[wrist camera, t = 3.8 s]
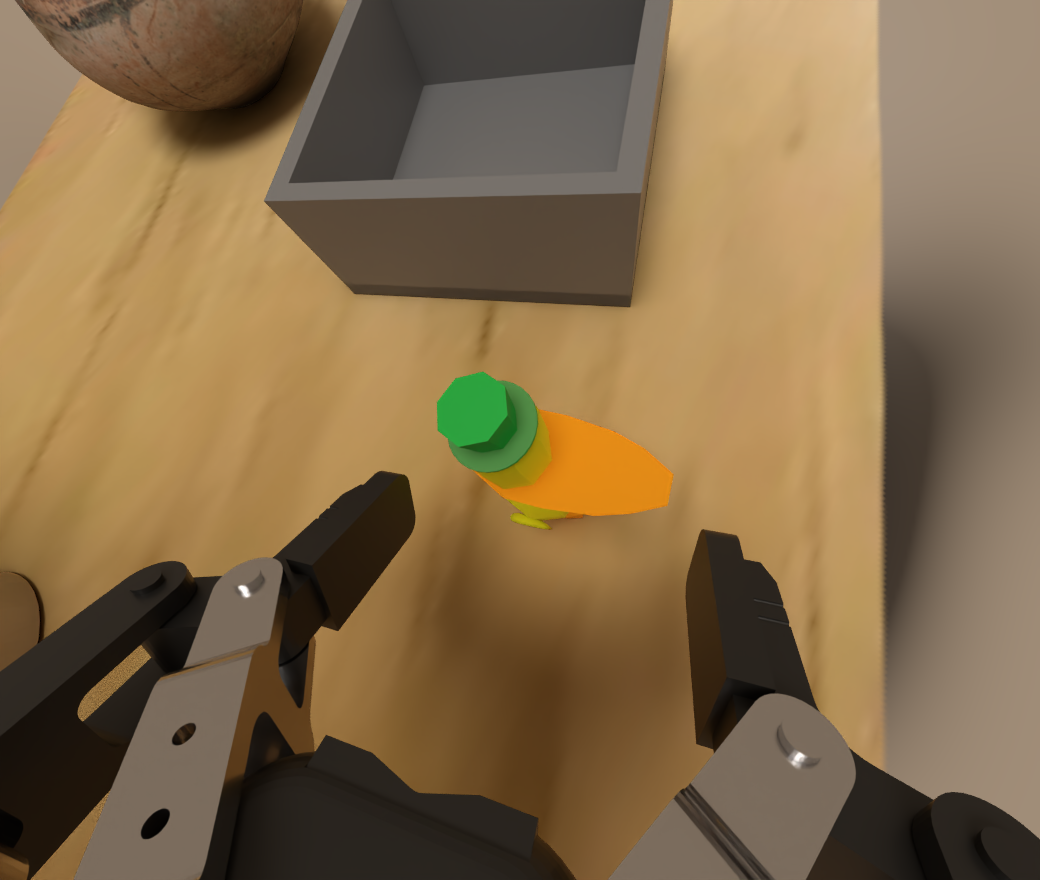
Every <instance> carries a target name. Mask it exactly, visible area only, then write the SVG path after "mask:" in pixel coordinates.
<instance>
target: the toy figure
mask: <svg viewBox="0 0 1040 880" xmlns="http://www.w3.org/2000/svg"><path fill="white" fill-rule="evenodd" d="M437 423H438V431H439V432H440V433H442V434H443V435H444V436H445V437H447V438H448V442H449V446H450V448H451V451H452V453H453V455H454V456H455V457H456V458H457V460H458V461H459V462H460V463H462V464H463V465H464V466H466V467H467V468H469V469H472V470H473V471H474V472H475V473H476V474H477V475H479V476H480V477H481V478H482V479H483V480H484V481H485V482H486V483H487V484H488V485H490V486H491V487H492V488H493V489H494V490H495V491H496V492H497V493H498V494H500V495H501V496H502V497H503V498H505V499H506V500H508V501H509V502H510V503H511V504H513V505H514V506H515V507H516V508H517V509H519V510H520V511H521V512H522V513H524V514H521V513H513V514H512V515H511V516H510V517H511V520H512V521H513V522H515V523H519V524H523V525H527V526H531V527H535V528H540V529H549V530H550V529H552V528H551V527H550V526H549V525H547V524H546V523H544V522H543V520H551V519H559V518H582V517H583V514H585V515H592V516H601V515H618V514H632V513H636V512H641V511H645V510H650V509H655V508H659V507H664V506H667V505H668V500H669V495H670V490H671V485H672V480H673V475H674V474H672V473H671V472H670V471H669V470H668V469H667V468H666V467H665V466H664V465H662V464H661V463H660V462H659V461H658V460H657V459H656V458H655V457H653V456H652V455H651V454H650V453H649V452H648V451H647V450H646V449H644V448H643V447H641V446H639V445H637V444H635V443H634V442H632V441H630V440H628V439H627V438H625V437H623V436H621V435H620V434H618V433H616V432H614V431H611V430H608V429H605V428H602V427H599V426H596V425H594V424H591V423H588V422H585V421H582V420H579V419H576V418H573V417H570V416H567V415H562V414H558V413H553V412H548V411H544V410H539V409H538V408H537V406H535V404H534V402H533V401H532V399H531V397H530V396H529V394H528V393H527V392H525V391H524V390H523V389H522V388H521V387H519V386H517V385H516V384H514V383H510V382H507V381H496V380H495V379H493V378H492V377H490V376H489V375H487V374H486V373H484V372H480V373H476V374H472V375H468V376H464V377H460V378H456V379H455V380H454V381H453V382H452V384H451V385H450V386H449V388H448V389H447V390H446V391H445V393H444V394H443V395H442V397H441V398H440V399H439V400H438V402H437Z"/></svg>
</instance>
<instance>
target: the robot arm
mask: <svg viewBox="0 0 1040 880" xmlns="http://www.w3.org/2000/svg"><path fill="white" fill-rule="evenodd" d="M414 525H415V510H414V505H413V500H412V495H411V490H410V484H409V480H408V478H407V476H405V475H402V474H397V473H391V472H386V471H379V472H377V473H376V474H375V475H374V476H372V477H371V478H370V479H369V480H368V481H367V482H366V483H365V484H364V485H359V486H357V487H355V488H353V489H352V490H350V491H348V492H346V493H344V494H343V495H342V496H340V497H339V498H338V499H337V500H336V501H335V502H334V503H333V504H332V505H331V506H330V508H329V509H328V508H327V509H326V510H325V511H324V512H323V513H322V514H321V515H320V516H319V518H318V519H315V520H314V521H313V522H312V523H311V524H310V525H309V526H308V527H306V528H305V529H304V530H303V531H302V532H301V533H300V534H299V535H298V536H297V537H295V538H294V539H293V540H292V541H291V542H290V543H289V544H288V545H287V546H286V547H284V548H283V549H282V550H281V551H280V552H279V553H278V554H277V555H276V556H274V557H273V558H257V559H253V560H249V561H247V562H244V563H242V564H240V565H238V566H236V567H234V568H233V569H231V570H230V571H228V572H227V573H226V574H224V575H223V576H214V577H195V578H193V577H192V575H191V574H190V572H189V570H188V569H187V567H186V566H185V565H184V564H183V563H181V562H177V561H167V562H162V563H157V564H154V565H151V566H149V567H146V568H144V569H142V570H140V571H138V572H136V573H134V574H133V575H131V576H129V577H128V578H126V579H125V580H124V581H122V582H121V583H120V584H118V585H117V586H115V587H114V588H113V589H111V590H110V591H109V592H107V593H106V594H105V595H103V596H102V597H101V598H99V599H98V600H96V601H95V602H94V603H92V604H91V605H90V606H88V607H87V608H86V609H84V610H83V611H82V612H80V613H79V614H78V615H76V616H75V617H73V618H72V619H71V620H69V621H68V622H67V623H65V624H64V625H63V626H61V627H60V628H59V629H57V630H56V631H54V632H53V633H52V634H50V635H49V636H48V637H46V638H45V639H44V640H42V641H41V642H40V643H38V638H39V625H40V616H39V606H38V602H37V599H36V596H35V593H34V591H33V589H32V588H31V586H30V584H29V583H28V582H27V581H26V580H25V579H24V578H22V577H21V576H20V575H17V574H14V573H11V572H0V880H30V879H31V878H32V877H33V876H34V875H35V874H36V873H37V871H38V870H39V869H40V868H41V867H42V866H43V865H44V864H45V862H46V861H47V860H48V859H49V858H50V857H51V856H52V855H53V853H54V852H55V851H56V850H57V849H58V848H59V847H60V846H61V844H62V843H63V842H64V841H65V840H66V839H67V838H68V837H69V835H70V834H71V833H72V832H73V831H74V830H75V829H76V828H77V826H78V825H79V824H80V823H81V822H82V821H83V820H84V819H85V817H86V816H87V815H88V814H89V813H90V812H91V811H92V810H93V809H94V807H95V806H96V805H97V804H98V803H99V802H100V801H101V800H102V798H103V797H104V796H105V795H106V794H107V793H108V792H109V791H110V789H111V791H110V793H109V796H108V798H107V800H106V803H105V805H104V808H103V810H102V812H101V815H100V817H99V820H98V822H97V824H96V827H95V829H94V832H93V834H92V836H91V839H90V841H89V844H88V846H87V849H86V851H85V853H84V856H83V858H82V861H81V863H80V865H79V868H78V870H77V873H76V875H75V877H74V880H576V879H575V877H574V876H573V874H572V873H571V872H570V870H569V869H568V867H567V866H566V865H565V863H564V862H563V860H562V859H561V858H560V857H559V856H558V855H557V854H556V853H555V851H554V850H553V849H552V848H551V847H550V846H549V845H548V844H547V843H545V842H544V841H543V840H542V839H541V838H540V837H538V818H536V817H534V816H531V815H529V814H526V813H524V812H521V811H518V810H516V809H513V808H511V807H508V806H506V805H503V804H501V803H498V802H496V801H493V800H490V799H488V798H485V797H483V796H480V795H455V794H426V793H418V792H415V791H414V790H412V789H411V788H410V787H409V786H408V785H407V784H405V783H404V782H403V781H402V780H401V779H400V778H399V777H398V776H397V775H396V774H395V773H393V772H392V771H391V770H390V769H389V768H388V767H387V766H386V765H385V764H384V763H383V762H382V761H380V760H379V759H378V758H377V757H376V756H375V755H374V754H373V753H371V752H368V751H366V750H363V749H361V748H358V747H356V746H353V745H350V744H348V743H345V742H343V741H340V740H338V739H335V738H333V737H330V736H327V735H326V736H325V738H324V739H323V741H322V742H321V744H320V745H319V747H318V749H317V750H316V751H315V749H314V739H313V733H312V729H311V722H310V708H311V696H312V684H313V671H314V659H315V646H316V640H315V637H314V634H315V633H316V632H317V631H318V629H319V628H320V627H321V626H323V627H326V628H330V629H333V630H336V631H339V629H340V628H341V627H342V625H343V624H344V623H345V621H346V620H347V619H348V617H349V616H350V615H351V613H352V612H353V611H354V610H355V608H356V607H357V606H358V604H359V603H360V602H361V600H362V599H363V598H364V596H365V595H366V594H367V592H368V591H369V590H370V588H371V587H372V586H373V584H374V583H375V582H376V580H377V579H378V578H379V576H380V575H381V574H382V572H383V571H384V570H385V568H386V567H387V566H388V564H389V563H390V562H391V560H392V559H393V558H394V556H395V555H396V554H397V553H398V551H399V550H400V549H401V547H402V546H403V545H404V543H405V542H406V541H407V539H408V538H409V537H410V535H411V533H412V531H413V529H414ZM686 610H687V623H688V637H689V650H690V664H691V678H692V691H693V705H694V718H695V732H696V744H698V745H701V746H705V747H708V748H711V749H713V750H714V754H713V756H712V757H711V758H710V759H709V761H708V762H707V763H706V764H705V766H704V767H703V768H702V769H701V771H700V772H699V773H698V774H697V776H696V777H695V778H694V779H693V781H692V782H691V783H690V784H689V785H688V786H687V787H686V788H685V789H682V790H681V791H680V792H679V793H678V794H677V795H676V796H675V797H674V798H673V799H672V800H671V802H670V803H669V804H668V805H667V806H666V808H665V809H664V810H663V811H662V813H661V814H660V815H659V816H658V818H657V819H656V820H655V821H654V823H653V824H652V825H651V826H650V828H649V829H648V830H647V831H646V833H645V834H644V835H643V836H642V838H641V839H640V840H639V841H638V843H637V844H636V845H635V846H634V847H633V849H632V850H631V851H630V852H629V854H628V855H627V856H626V857H625V859H624V860H623V861H622V862H621V864H620V865H619V866H618V867H617V869H616V870H615V871H614V872H613V874H612V875H611V876H610V877H609V879H608V880H1040V839H1039V838H1038V837H1036V836H1035V835H1034V834H1033V833H1032V832H1031V831H1030V830H1028V829H1027V828H1026V827H1025V826H1024V825H1022V824H1021V823H1020V822H1018V821H1017V820H1016V819H1014V818H1013V817H1012V816H1010V815H1009V814H1007V813H1006V812H1004V811H1003V810H1001V809H999V808H998V807H996V806H994V805H992V804H990V803H988V802H987V801H985V800H982V799H980V798H977V797H975V796H972V795H968V794H964V793H958V792H950V793H945V794H942V795H940V796H938V797H937V798H936V799H934V800H933V799H931V798H929V797H927V796H926V795H924V794H922V793H920V792H919V791H917V790H915V789H913V788H912V787H910V786H908V785H906V784H905V783H903V782H901V781H899V780H898V779H896V778H894V777H892V776H890V775H889V774H887V773H885V772H884V771H882V770H880V769H878V768H877V767H875V766H873V765H872V764H870V763H869V762H867V761H865V760H864V759H863V758H861V757H860V756H859V755H857V754H856V753H855V752H853V751H852V750H851V749H850V748H849V747H848V745H847V743H846V742H845V740H844V739H843V737H842V735H841V734H840V733H839V732H838V730H837V729H836V728H835V727H834V726H833V724H832V723H831V722H830V721H829V720H828V719H827V718H826V717H824V716H823V715H822V714H821V713H820V712H819V710H818V708H817V706H816V704H815V701H814V698H813V695H812V692H811V689H810V686H809V683H808V680H807V676H806V673H805V670H804V667H803V664H802V661H801V658H800V655H799V651H798V648H797V645H796V642H795V639H794V636H793V633H792V630H791V627H789V620H788V617H787V614H786V611H785V609H784V608H783V601H782V598H781V595H780V592H779V589H778V586H777V583H776V581H775V580H774V579H773V578H772V576H771V575H770V574H769V573H768V571H767V570H766V569H765V568H764V566H763V565H762V564H761V563H760V562H755V561H750V560H744V558H743V554H742V550H741V546H740V542H739V539H738V537H737V536H736V535H732V534H726V533H721V532H715V531H710V530H704V529H702V530H701V532H700V534H699V537H698V541H697V544H696V548H695V551H694V554H693V558H692V561H691V565H690V568H689V571H688V576H687V582H686ZM37 643H38V644H37ZM140 645H142V646H143V648H144V649H145V650H146V651H147V652H148V654H149V655H150V656H151V657H152V658H151V659H149V660H148V661H147V662H146V663H145V664H144V665H143V666H142V667H141V668H140V669H139V670H138V671H137V672H136V673H135V674H134V675H132V676H131V677H130V678H129V679H128V680H127V681H126V682H125V683H124V684H123V685H122V686H121V687H120V688H119V689H118V690H117V691H116V692H114V693H113V694H112V695H111V696H110V697H109V698H108V699H107V700H106V701H105V702H104V703H103V704H102V705H101V706H100V707H99V708H98V709H96V710H95V711H94V712H93V713H92V714H91V715H90V716H89V717H88V718H87V719H86V720H84V721H83V722H82V721H81V720H80V719H79V718H78V713H77V711H78V707H79V704H80V702H81V701H82V699H83V698H84V696H85V695H86V694H87V693H88V692H89V691H90V690H91V689H92V688H93V687H94V686H95V685H96V684H97V683H98V682H99V681H101V680H102V679H103V678H104V677H105V676H106V675H107V674H108V673H109V672H111V671H112V670H113V669H114V668H115V667H116V666H117V665H118V664H120V663H121V662H122V661H123V660H124V659H125V658H126V657H127V656H128V655H130V654H131V653H132V652H133V651H134V650H135V649H136V648H137V647H139V646H140Z"/></svg>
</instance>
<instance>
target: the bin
mask: <svg viewBox="0 0 1040 880" xmlns="http://www.w3.org/2000/svg"><path fill="white" fill-rule="evenodd" d="M672 6H673V0H347V3H346V5H345V7H344V10H343V12H342V15H341V17H340V19H339V22H338V24H337V27H336V29H335V31H334V34H333V36H332V39H331V41H330V43H329V46H328V48H327V51H326V53H325V56H324V58H323V60H322V63H321V65H320V68H319V70H318V72H317V75H316V77H315V80H314V82H313V84H312V87H311V89H310V92H309V94H308V96H307V99H306V101H305V104H304V106H303V108H302V111H301V113H300V116H299V118H298V121H297V123H296V125H295V128H294V130H293V133H292V135H291V137H290V140H289V142H288V145H287V147H286V149H285V152H284V154H283V157H282V159H281V161H280V164H279V166H278V169H277V171H276V174H275V176H274V178H273V181H272V183H271V186H270V188H269V190H268V193H267V195H266V198H265V200H264V202H265V203H266V204H267V205H268V206H269V207H270V208H271V209H272V210H273V211H274V212H275V213H276V214H277V215H278V216H279V217H280V218H281V219H282V220H283V221H284V222H285V223H286V224H287V225H288V226H289V227H290V228H291V229H292V230H293V231H294V232H295V233H296V234H297V235H298V236H299V237H300V238H301V239H302V241H303V242H304V243H305V244H306V245H307V246H308V247H309V248H310V249H311V250H312V251H313V252H314V253H315V254H316V255H317V256H318V257H319V258H320V259H321V260H322V261H323V262H324V263H325V264H326V265H327V266H328V267H329V268H330V269H331V270H332V271H333V272H334V273H335V274H336V275H337V276H338V277H339V278H340V279H341V280H342V281H343V282H344V283H345V284H346V285H347V286H348V287H349V288H350V289H351V290H352V291H353V293H354V294H374V295H394V296H415V297H436V298H457V299H478V300H498V301H519V302H540V303H561V304H582V305H602V306H623V307H630V303H631V297H632V290H633V283H634V276H635V269H636V262H637V256H638V249H639V242H640V235H641V228H642V221H643V215H644V208H645V201H646V194H647V187H648V180H649V173H650V167H651V160H652V153H653V146H654V139H655V132H656V126H657V119H658V112H659V105H660V98H661V91H662V85H663V78H664V71H665V63H666V55H667V47H668V39H669V30H670V22H671V14H672Z"/></svg>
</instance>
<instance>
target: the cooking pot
mask: <svg viewBox="0 0 1040 880" xmlns="http://www.w3.org/2000/svg"><path fill="white" fill-rule="evenodd" d="M15 1H16V2H17V3H18V5H19V6H20V7H21V8H22V10H23V11H24V12H25V14H26V15H27V16H28V17H29V19H30V20H31V21H32V23H33V24H34V25H35V26H36V28H37V29H38V30H39V31H40V33H41V34H42V35H43V36H44V37H45V38H46V40H47V41H48V42H49V43H50V45H51V46H52V47H53V48H54V49H55V50H56V51H57V52H58V53H59V54H60V55H61V56H62V57H63V58H64V59H65V60H66V61H68V62H69V63H70V64H71V65H72V66H73V67H74V68H76V69H77V70H78V71H79V72H81V73H82V74H84V75H85V76H87V77H88V78H89V79H91V80H92V81H94V82H95V83H97V84H98V85H100V86H102V87H103V88H105V89H107V90H109V91H110V92H112V93H114V94H116V95H118V96H120V97H122V98H124V99H126V100H129V101H131V102H134V103H137V104H141V105H144V106H147V107H151V108H155V109H160V110H169V111H199V110H211V109H220V108H233V109H234V108H241V107H244V106H247V105H250V104H252V103H254V102H256V101H257V100H259V99H260V98H262V97H263V96H264V95H266V94H267V93H268V92H269V91H270V90H271V89H272V88H273V87H274V85H275V84H276V83H277V81H278V80H279V78H280V76H281V73H282V71H283V66H284V62H285V59H286V57H287V54H288V52H289V49H290V47H291V44H292V41H293V38H294V35H295V32H296V29H297V26H298V22H299V18H300V14H301V9H302V4H303V0H15Z"/></svg>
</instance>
